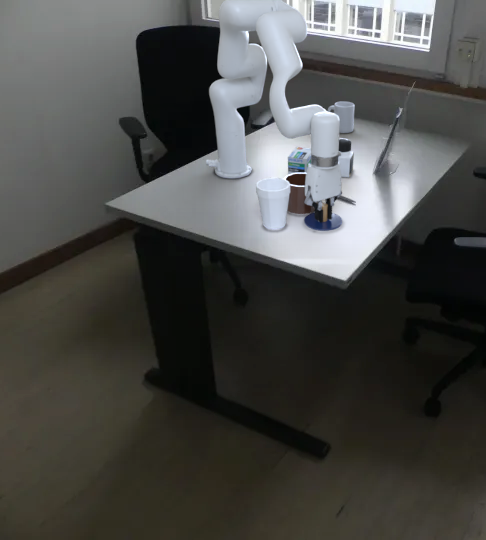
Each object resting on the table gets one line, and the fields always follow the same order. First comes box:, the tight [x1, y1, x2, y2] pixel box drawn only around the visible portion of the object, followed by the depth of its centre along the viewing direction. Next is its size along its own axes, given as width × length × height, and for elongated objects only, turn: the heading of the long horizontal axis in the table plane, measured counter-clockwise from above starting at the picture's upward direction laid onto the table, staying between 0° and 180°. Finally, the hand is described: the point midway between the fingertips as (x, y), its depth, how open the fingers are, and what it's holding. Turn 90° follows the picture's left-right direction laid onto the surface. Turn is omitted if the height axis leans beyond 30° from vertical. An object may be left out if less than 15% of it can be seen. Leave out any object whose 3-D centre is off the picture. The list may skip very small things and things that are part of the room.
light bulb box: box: [287, 146, 311, 175], centre depth 177 cm, size 11×7×11 cm, turn 167°
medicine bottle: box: [338, 137, 355, 178], centre depth 185 cm, size 7×7×12 cm
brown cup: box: [283, 173, 318, 215], centre depth 161 cm, size 10×10×10 cm
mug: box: [327, 101, 355, 134], centre depth 225 cm, size 12×8×11 cm
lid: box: [303, 202, 343, 232], centre depth 154 cm, size 11×11×6 cm
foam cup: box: [255, 177, 290, 230], centre depth 150 cm, size 10×9×13 cm
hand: (323, 218), depth 155 cm, fingers closed on lid, 2 cm apart
